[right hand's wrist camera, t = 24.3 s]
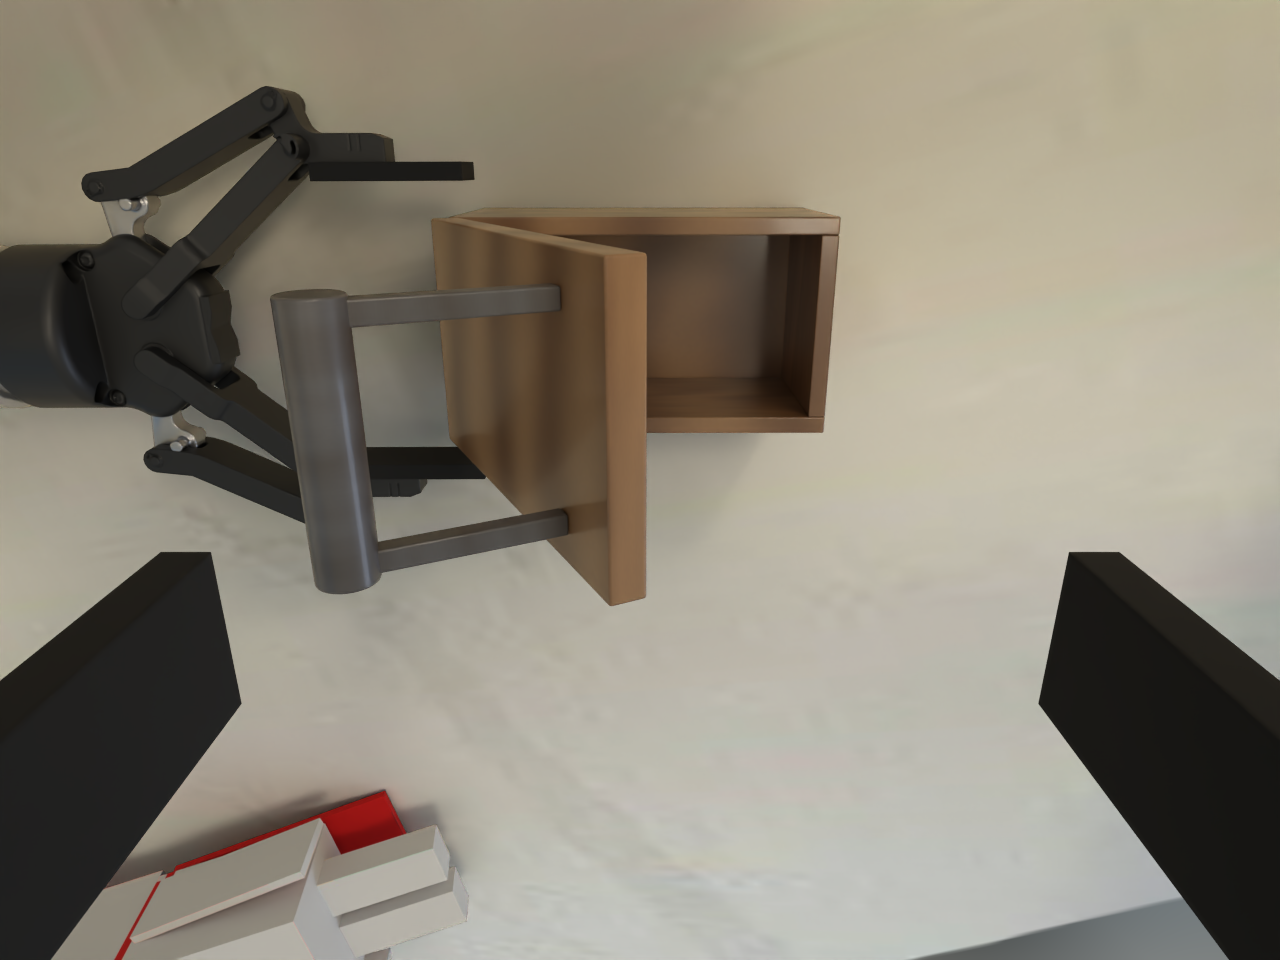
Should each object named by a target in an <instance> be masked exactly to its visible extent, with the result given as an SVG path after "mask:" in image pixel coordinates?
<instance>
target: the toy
mask: <svg viewBox="0 0 1280 960" xmlns="http://www.w3.org/2000/svg"><path fill="white" fill-rule="evenodd" d="M449 862H450V853H449V851H448V849H447V847H446V845H445V842H444V840H443V838H442V836H441V834H440V831H439V829H438V827H437V825H436V824H435V825H432V826H429V827H426V828H423V829H420V830H416V831H413V832H410V833H406V831H405V830H404V828H403V826H402V824H401V822H400V820H399V818H398V816H397V814H396V812H395V810H394V808H393V806H392V804H391V802H390V800H389V798H388V796H387V794H386V792H385V791H383V792H380V793H377V794H374V795H372V796H369V797H366V798H363V799H360V800H358V801H355V802H352V803H349V804H347V805H344V806H341V807H338V808H335V809H333V810H330V811H327V812H324V813H322V814H319V815H316V816H313V817H311V818H308V819H305V820H302V821H299V822H297V823H294V824H291V825H288V826H286V827H283V828H280V829H277V830H274V831H272V832H269V833H266V834H263V835H261V836H258V837H255V838H252V839H249V840H247V841H244V842H241V843H238V844H236V845H233V846H230V847H227V848H225V849H222V850H219V851H216V852H213V853H211V854H208V855H205V856H202V857H200V858H197V859H194V860H191V861H188V862H186V863H183V864H180V865H177V866H176V867H175V869H174V871H173V872H171V873H168V874H165V872H164V870H162V871H158V872H155V873H152V874H149V875H146V876H143V877H140V878H136V879H133V880H130V881H127V882H124V883H121V884H118V885H114V886H111V887H108V888H105V889H103V890H102V892H101V893H100V894H99V896H98V897H97V899H96V900H95V901H94V903H93V904H92V905H91V907H90V908H89V909H88V911H87V912H86V913H85V915H84V916H83V917H82V919H81V920H80V921H79V923H78V924H77V925H76V927H75V928H74V929H73V931H72V932H71V933H70V935H69V936H68V937H67V939H66V940H65V942H64V943H63V944H62V946H61V947H60V948H59V950H58V951H57V952H56V954H55V955H54V956H53V958H52V959H51V960H391V959H392V951H391V948H388V949H384V948H387V947H390V946H393V945H396V944H399V943H402V942H405V941H408V940H412V939H415V938H418V937H421V936H424V935H427V934H430V933H433V932H436V931H439V930H442V929H445V928H448V927H451V926H455V925H458V924H461V923H464V922H467V911H468V898H469V895H468V893H467V891H466V889H465V886H464V884H463V882H462V880H461V878H460V875H459V873H458V871H457V869H456V867H455V866H454V867H451V868H449ZM381 949H384V950H381ZM378 950H380V951H378ZM375 951H376V952H375Z"/></svg>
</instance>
